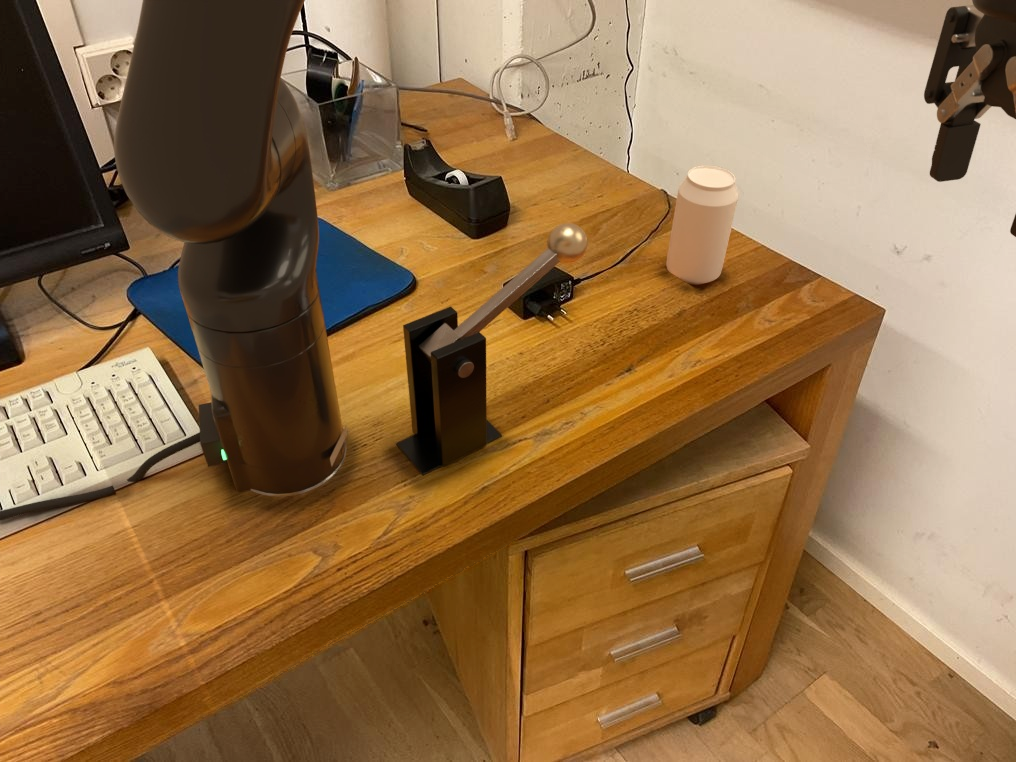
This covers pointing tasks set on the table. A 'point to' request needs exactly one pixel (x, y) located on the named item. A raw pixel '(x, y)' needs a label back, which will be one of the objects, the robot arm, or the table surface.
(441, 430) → the bracket
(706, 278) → the beverage can
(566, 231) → the lever
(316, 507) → the table surface
